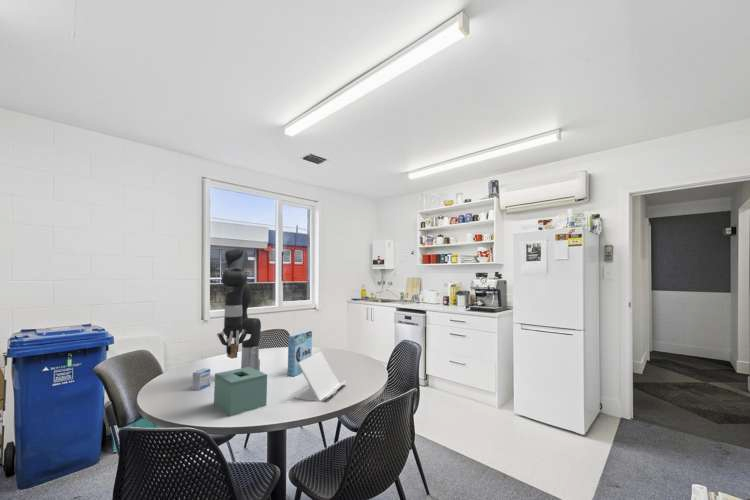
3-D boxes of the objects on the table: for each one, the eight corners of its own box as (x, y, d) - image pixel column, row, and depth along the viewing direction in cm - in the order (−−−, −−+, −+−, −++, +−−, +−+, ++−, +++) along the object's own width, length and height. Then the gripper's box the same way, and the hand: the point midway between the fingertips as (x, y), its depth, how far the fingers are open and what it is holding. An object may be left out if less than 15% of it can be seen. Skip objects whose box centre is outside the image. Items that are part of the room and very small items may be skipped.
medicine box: (199, 390, 168) (200, 372, 169) (191, 389, 169) (192, 372, 170) (210, 385, 176) (210, 368, 176) (202, 384, 177) (203, 368, 177)
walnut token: (232, 355, 153) (233, 343, 153) (237, 357, 149) (237, 345, 150) (227, 356, 151) (227, 344, 151) (231, 358, 147) (231, 345, 148)
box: (248, 395, 162) (249, 366, 163) (266, 405, 149) (267, 374, 150) (213, 404, 150) (215, 373, 151) (230, 416, 138) (231, 382, 139)
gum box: (294, 376, 191) (295, 336, 193) (286, 375, 193) (287, 335, 195) (311, 368, 210) (312, 331, 211) (304, 367, 211) (305, 330, 213)
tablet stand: (292, 398, 158) (293, 362, 159) (315, 382, 182) (316, 350, 183) (327, 402, 153) (328, 365, 155) (346, 385, 177) (347, 353, 179)
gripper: (244, 313, 159) (243, 350, 158) (214, 315, 149) (213, 355, 148) (251, 314, 154) (250, 352, 152) (220, 317, 144) (219, 358, 143)
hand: (232, 353), depth 150 cm, fingers closed on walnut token, 2 cm apart
